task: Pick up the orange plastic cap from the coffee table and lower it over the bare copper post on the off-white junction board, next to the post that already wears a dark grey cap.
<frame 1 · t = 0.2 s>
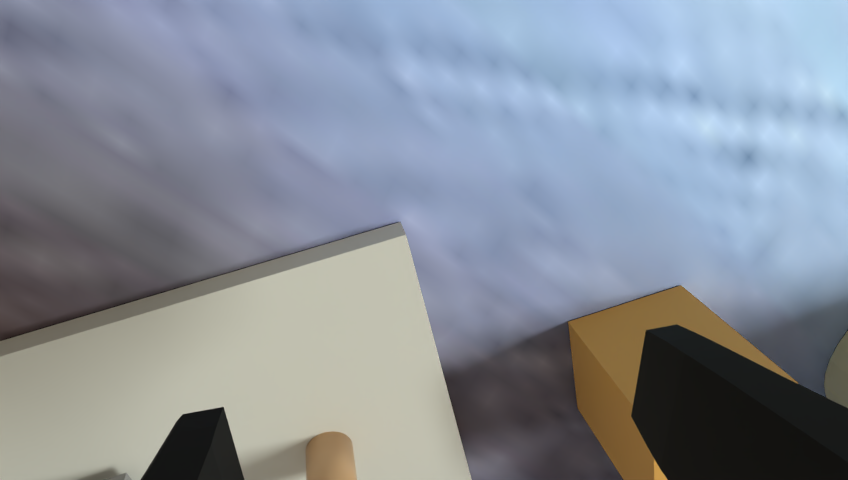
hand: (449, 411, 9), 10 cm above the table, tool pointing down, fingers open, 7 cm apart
orange cap: (627, 349, 24), on the table
junction board: (229, 461, 22), on the table
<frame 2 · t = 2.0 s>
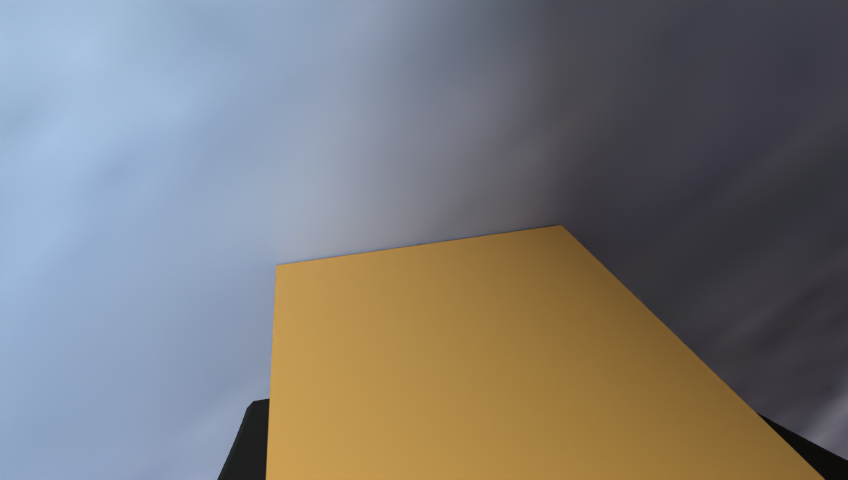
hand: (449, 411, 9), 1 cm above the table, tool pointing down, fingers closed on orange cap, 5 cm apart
orange cap: (431, 359, 11), on the table, touching gripper
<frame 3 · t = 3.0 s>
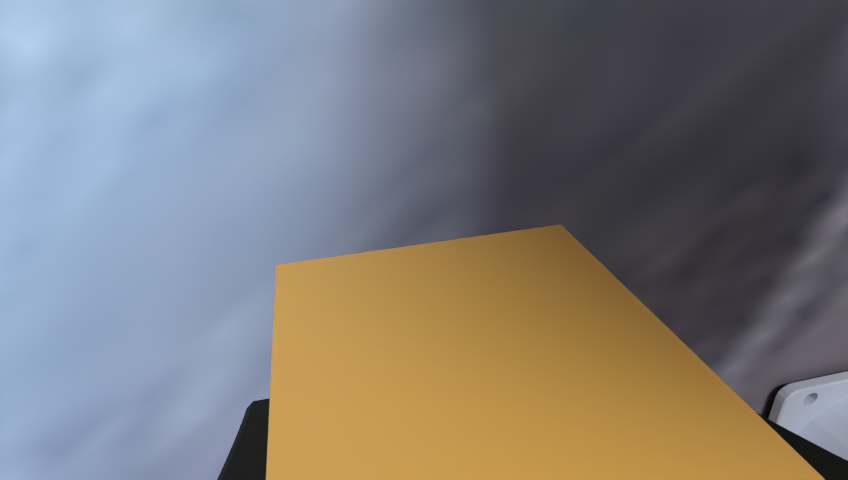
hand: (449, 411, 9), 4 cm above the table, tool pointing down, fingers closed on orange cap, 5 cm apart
orange cap: (430, 358, 11), point 3 cm above the table, touching gripper
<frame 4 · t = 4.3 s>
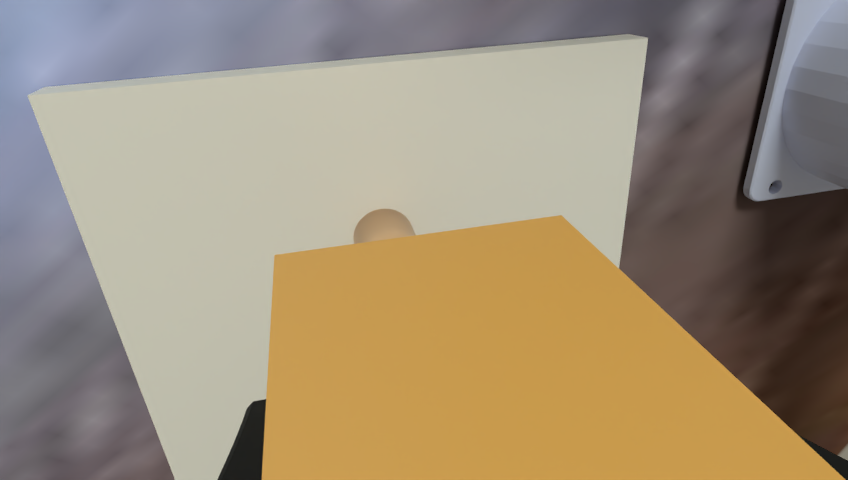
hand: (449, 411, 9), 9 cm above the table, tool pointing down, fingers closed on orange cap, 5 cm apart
orange cap: (430, 350, 10), point 7 cm above the table, touching gripper
junction board: (389, 325, 19), on the table
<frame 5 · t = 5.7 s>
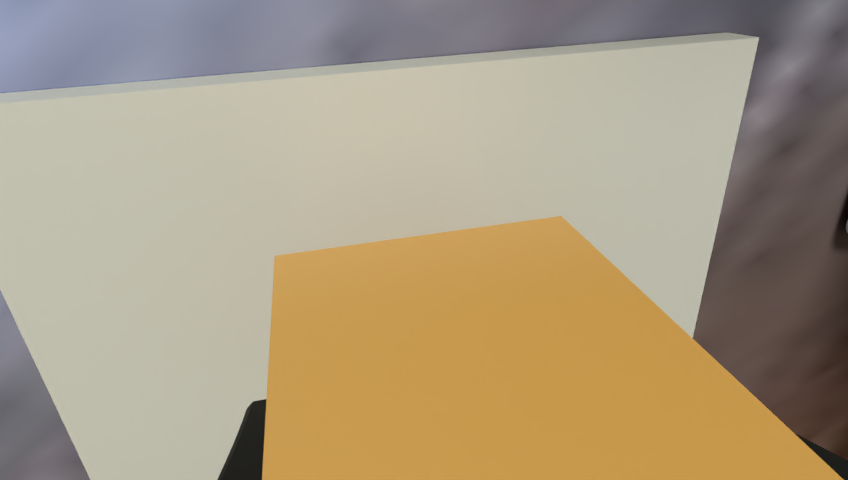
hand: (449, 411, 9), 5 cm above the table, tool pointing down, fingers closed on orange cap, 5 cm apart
orange cap: (430, 351, 11), point 3 cm above the table, touching gripper
junction board: (409, 392, 15), on the table
when the fingers open (4 cm above the table, at t = 6.5 s): orange cap stays where it is, resting on junction board.
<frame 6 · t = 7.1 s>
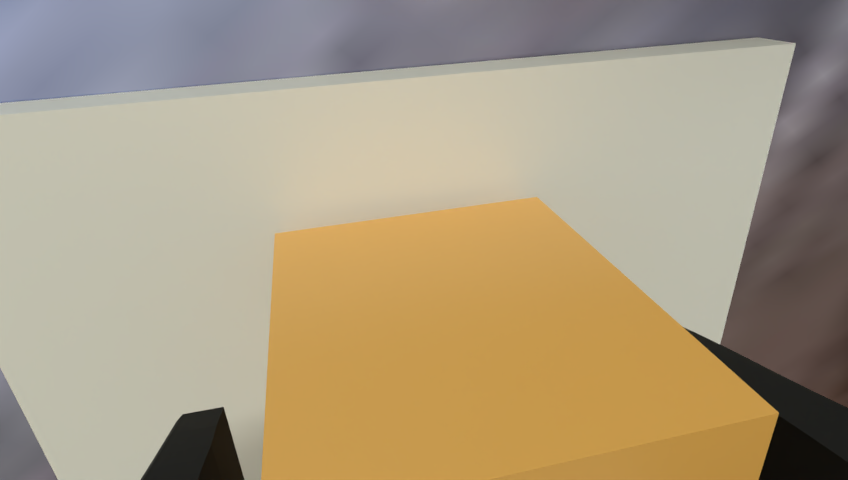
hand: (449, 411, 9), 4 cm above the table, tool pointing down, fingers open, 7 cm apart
orange cap: (419, 324, 11), point 2 cm above the table, touching junction board
junction board: (416, 418, 15), on the table
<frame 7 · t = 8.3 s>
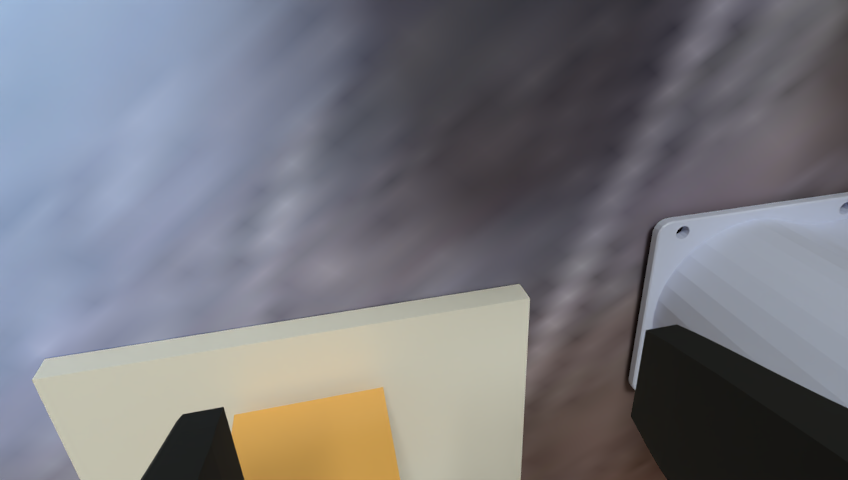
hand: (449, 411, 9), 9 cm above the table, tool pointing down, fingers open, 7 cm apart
orange cap: (321, 452, 20), point 2 cm above the table, touching junction board
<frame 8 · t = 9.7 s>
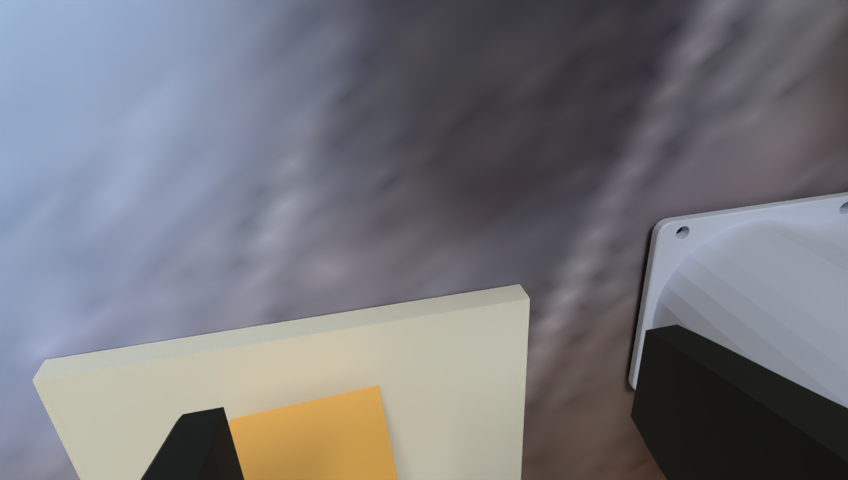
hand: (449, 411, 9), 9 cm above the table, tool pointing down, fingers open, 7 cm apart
orange cap: (319, 452, 20), point 2 cm above the table, touching junction board
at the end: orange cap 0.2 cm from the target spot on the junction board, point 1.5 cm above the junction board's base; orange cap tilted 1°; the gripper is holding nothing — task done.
